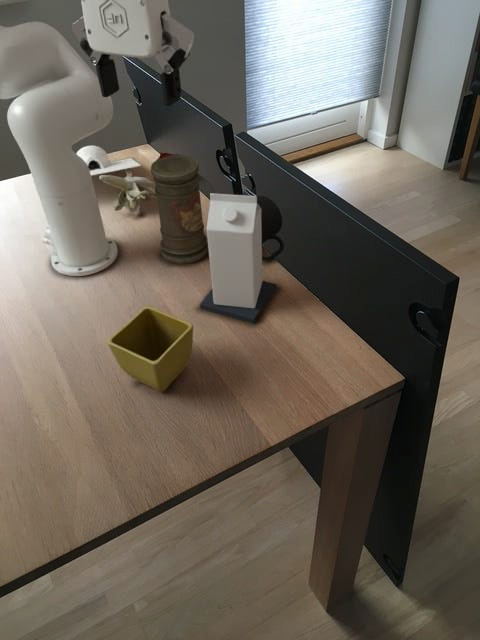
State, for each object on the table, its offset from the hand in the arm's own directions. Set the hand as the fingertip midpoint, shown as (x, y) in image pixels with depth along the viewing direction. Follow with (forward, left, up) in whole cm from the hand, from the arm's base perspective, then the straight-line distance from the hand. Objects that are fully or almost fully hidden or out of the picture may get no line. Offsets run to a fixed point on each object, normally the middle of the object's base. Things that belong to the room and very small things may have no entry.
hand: (141, 98), depth 71 cm
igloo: (-38, +30, -31) cm, 57 cm away
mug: (+9, +24, -31) cm, 41 cm away
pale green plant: (-25, +25, -34) cm, 49 cm away
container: (-5, +13, -34) cm, 37 cm away
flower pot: (+8, -17, -34) cm, 39 cm away
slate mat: (+11, +4, -34) cm, 36 cm away
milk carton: (+11, +4, -34) cm, 35 cm away
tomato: (-22, +38, -27) cm, 51 cm away
